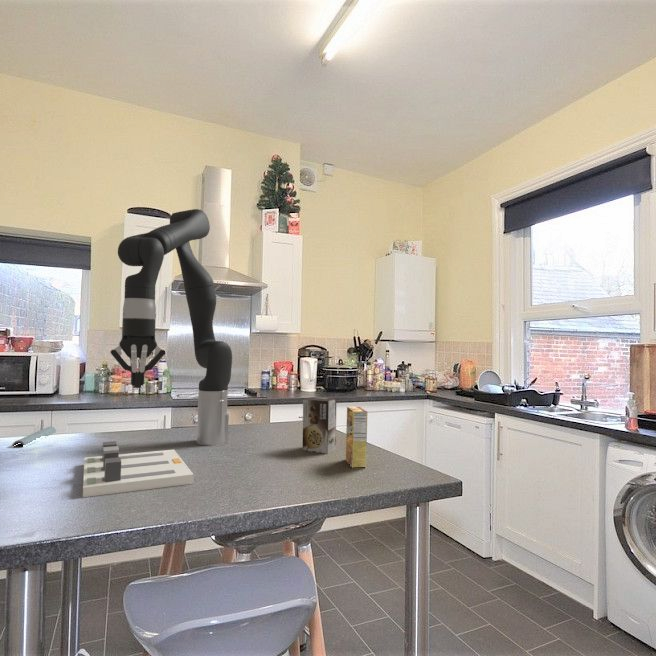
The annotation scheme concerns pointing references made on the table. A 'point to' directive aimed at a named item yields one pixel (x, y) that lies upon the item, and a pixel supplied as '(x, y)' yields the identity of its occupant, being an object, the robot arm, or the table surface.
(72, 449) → the table surface
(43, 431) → the aluminum foil
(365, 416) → the candy box
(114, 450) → the block
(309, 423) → the cookie box
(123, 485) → the breaker panel
